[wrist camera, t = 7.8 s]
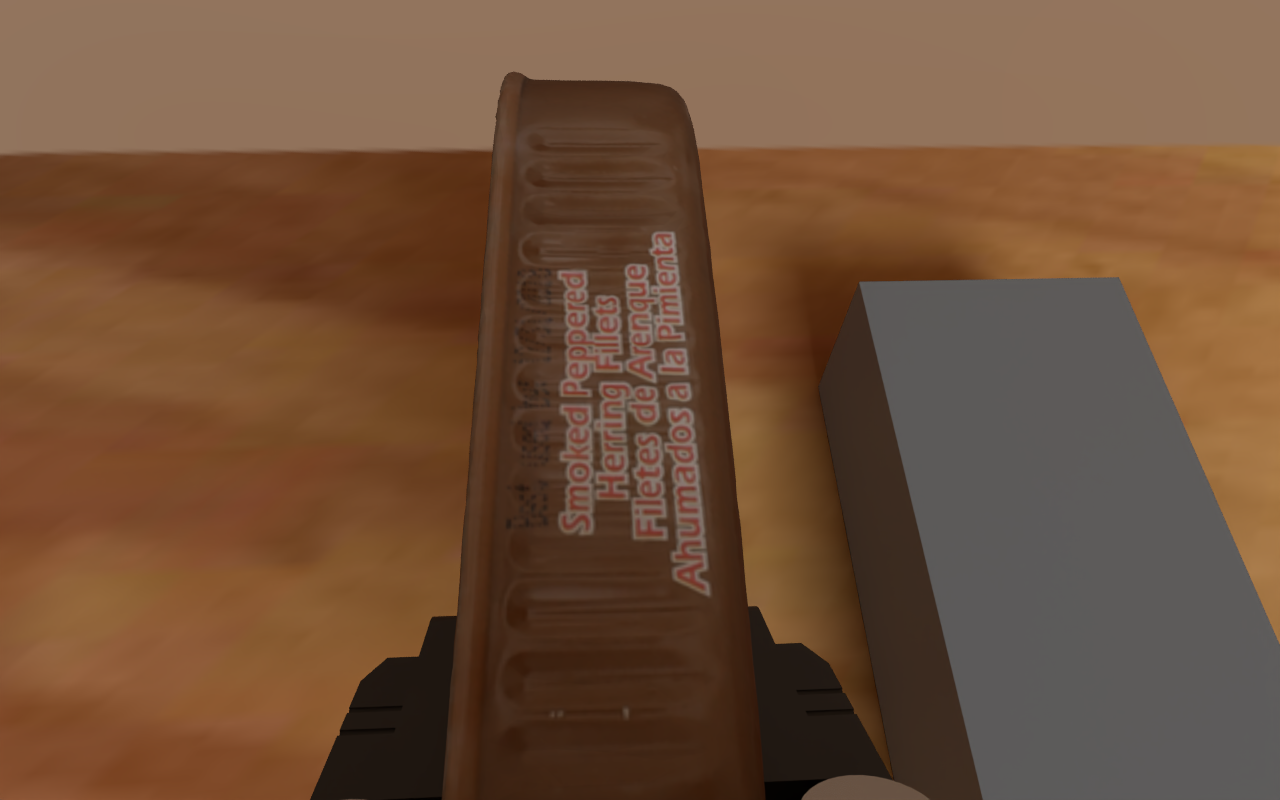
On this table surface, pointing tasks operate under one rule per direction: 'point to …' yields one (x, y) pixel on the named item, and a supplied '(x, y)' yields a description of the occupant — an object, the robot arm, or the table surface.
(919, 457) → the base brick
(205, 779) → the table surface
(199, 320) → the table surface
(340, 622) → the table surface
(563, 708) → the tin
